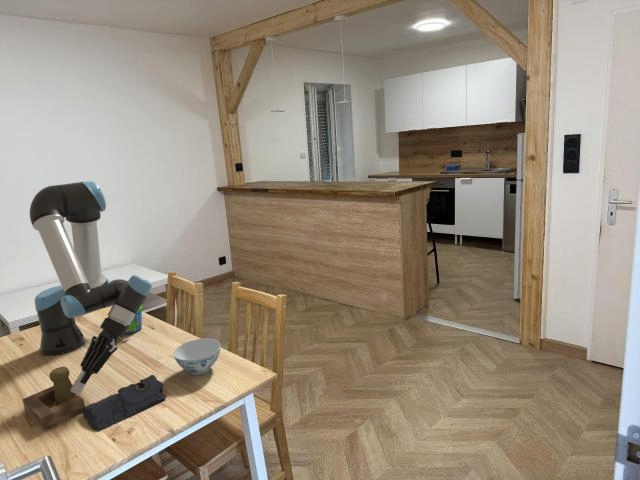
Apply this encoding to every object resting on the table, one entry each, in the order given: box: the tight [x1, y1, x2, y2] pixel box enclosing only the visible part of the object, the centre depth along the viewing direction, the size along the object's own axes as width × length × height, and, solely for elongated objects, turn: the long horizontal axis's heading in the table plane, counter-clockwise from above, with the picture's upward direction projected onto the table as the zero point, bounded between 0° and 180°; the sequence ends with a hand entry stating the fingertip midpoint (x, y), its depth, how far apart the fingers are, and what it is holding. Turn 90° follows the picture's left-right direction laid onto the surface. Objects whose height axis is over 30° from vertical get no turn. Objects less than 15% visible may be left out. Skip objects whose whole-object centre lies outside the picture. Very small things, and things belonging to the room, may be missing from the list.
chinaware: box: [173, 337, 221, 376], centre depth 147 cm, size 15×15×8 cm
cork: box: [49, 366, 78, 406], centre depth 133 cm, size 6×6×11 cm
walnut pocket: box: [21, 385, 86, 432], centre depth 130 cm, size 11×16×4 cm
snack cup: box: [124, 304, 143, 335], centre depth 183 cm, size 16×10×10 cm
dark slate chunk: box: [81, 374, 168, 432], centre depth 130 cm, size 15×22×5 cm
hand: (74, 392), depth 134 cm, fingers closed
